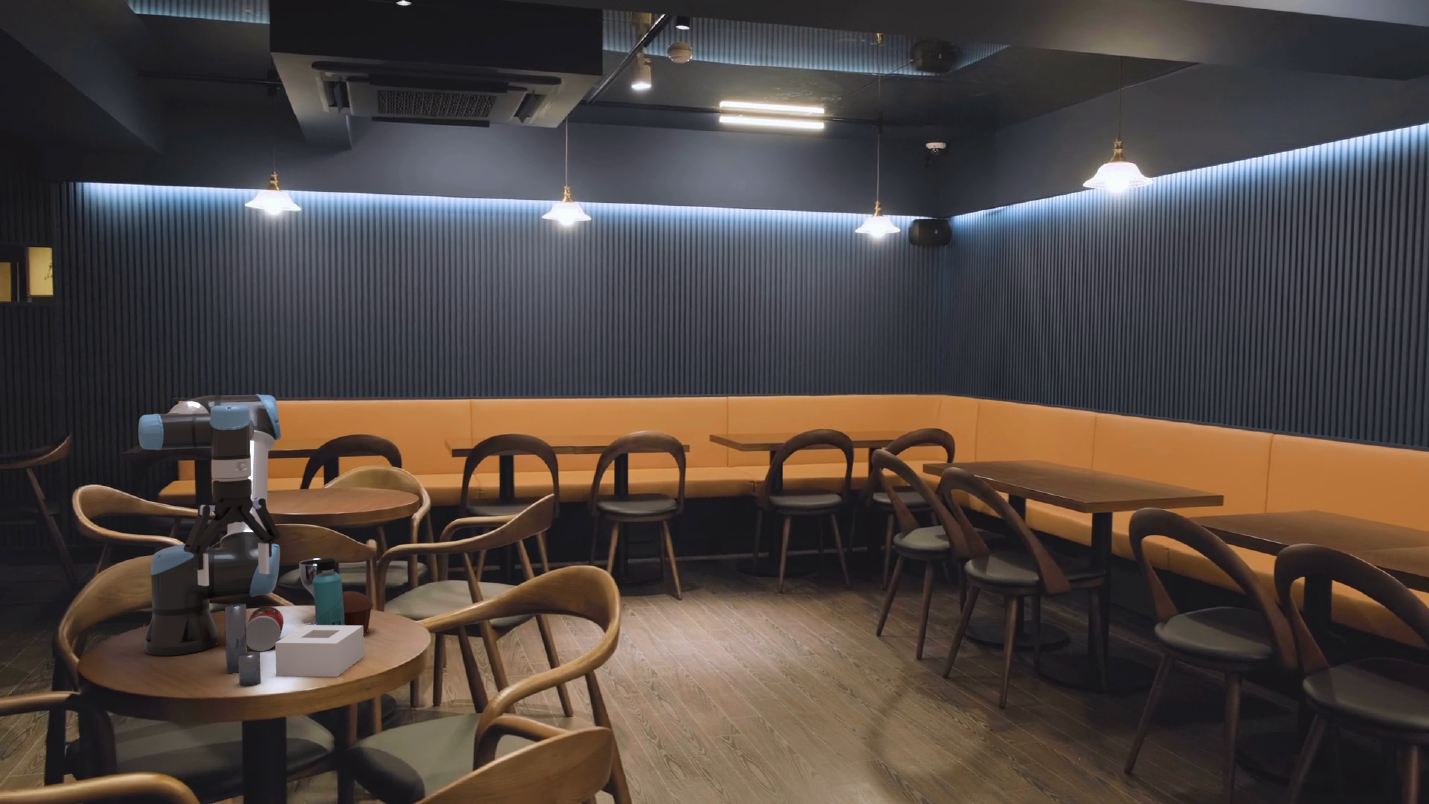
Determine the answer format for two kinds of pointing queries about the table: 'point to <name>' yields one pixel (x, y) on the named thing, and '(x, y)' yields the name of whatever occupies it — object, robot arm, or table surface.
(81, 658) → the table surface
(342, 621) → the beverage bottle
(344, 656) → the hole block
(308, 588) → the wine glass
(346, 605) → the muffin
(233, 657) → the long peg
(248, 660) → the short peg
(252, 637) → the canned food
